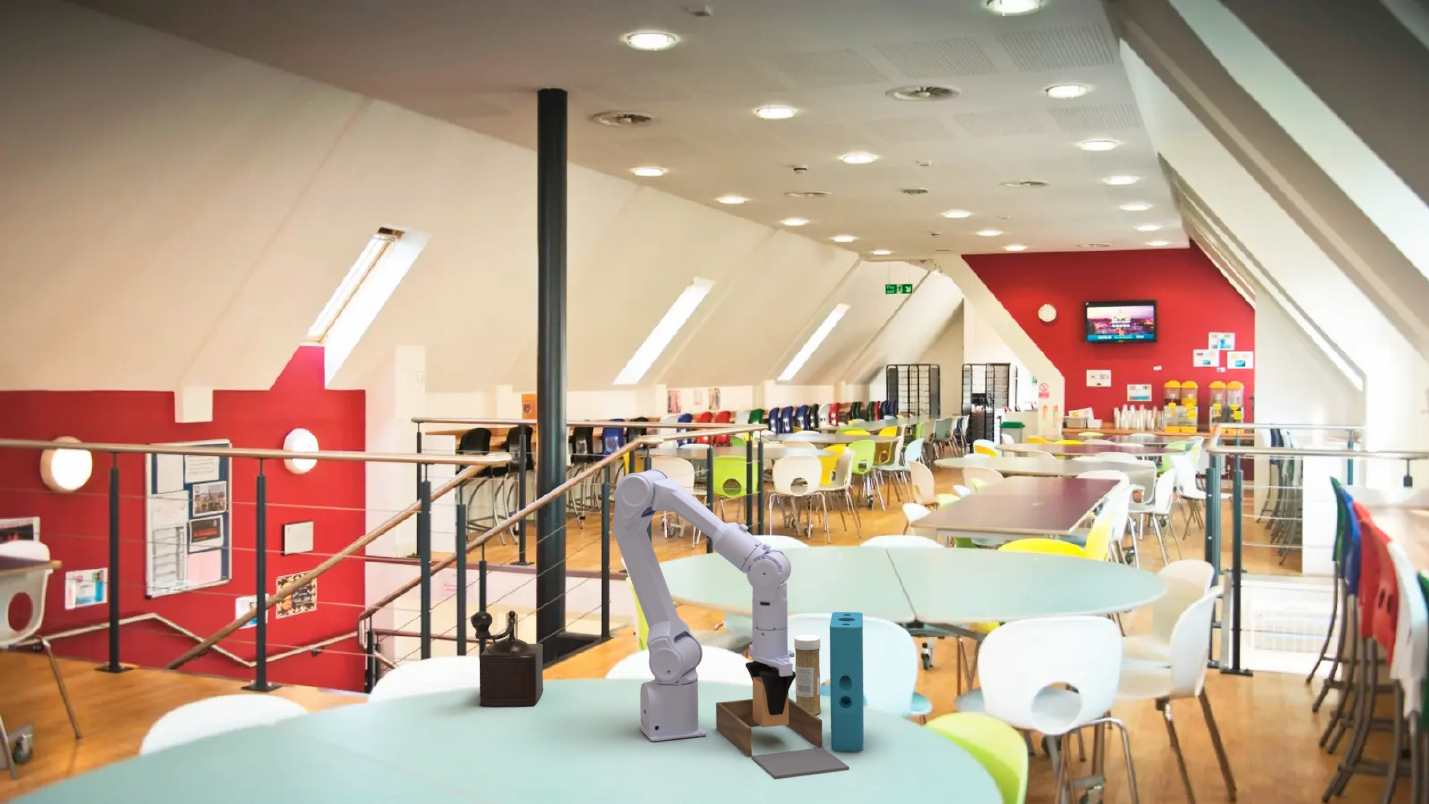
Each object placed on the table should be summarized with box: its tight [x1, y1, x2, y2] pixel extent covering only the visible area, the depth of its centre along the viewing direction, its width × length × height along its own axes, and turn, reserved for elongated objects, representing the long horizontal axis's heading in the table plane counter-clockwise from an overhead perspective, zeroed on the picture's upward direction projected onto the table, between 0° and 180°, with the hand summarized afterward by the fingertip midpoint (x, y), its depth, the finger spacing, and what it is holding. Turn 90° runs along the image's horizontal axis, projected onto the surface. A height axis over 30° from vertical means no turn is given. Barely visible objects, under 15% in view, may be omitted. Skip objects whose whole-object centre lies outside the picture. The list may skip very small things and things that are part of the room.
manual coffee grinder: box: [470, 610, 544, 708], centre depth 215 cm, size 16×11×18 cm
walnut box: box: [715, 697, 823, 758], centre depth 192 cm, size 13×16×4 cm
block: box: [829, 611, 865, 753], centre depth 189 cm, size 12×5×20 cm, turn 172°
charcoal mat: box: [750, 746, 850, 780], centre depth 179 cm, size 12×10×1 cm
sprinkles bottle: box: [793, 634, 822, 716], centre depth 206 cm, size 5×5×13 cm
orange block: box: [752, 676, 790, 728], centre depth 190 cm, size 4×4×7 cm
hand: (770, 710), depth 190 cm, fingers closed on orange block, 4 cm apart
